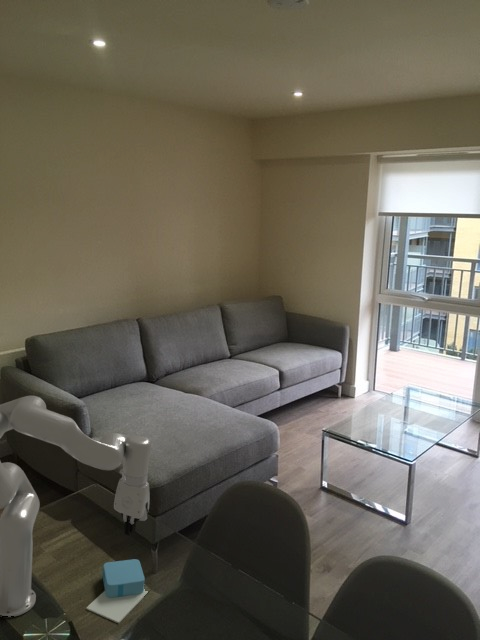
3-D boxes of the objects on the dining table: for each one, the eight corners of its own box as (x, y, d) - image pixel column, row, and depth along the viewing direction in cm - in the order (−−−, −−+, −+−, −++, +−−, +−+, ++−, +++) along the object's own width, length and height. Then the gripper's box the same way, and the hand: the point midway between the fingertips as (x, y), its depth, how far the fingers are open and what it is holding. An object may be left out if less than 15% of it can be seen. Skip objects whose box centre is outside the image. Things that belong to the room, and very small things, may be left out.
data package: (106, 599, 168) (144, 593, 172) (107, 586, 167) (145, 580, 172) (101, 574, 179) (137, 570, 183) (102, 562, 178) (138, 558, 183)
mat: (86, 609, 164) (86, 607, 163) (121, 576, 180) (121, 575, 180) (118, 623, 159) (118, 622, 159) (151, 589, 175) (151, 587, 175)
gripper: (106, 474, 161) (101, 530, 164) (149, 489, 156) (143, 547, 159) (121, 466, 168) (116, 520, 171) (162, 479, 163) (156, 535, 166)
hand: (129, 532), depth 165 cm, fingers closed
